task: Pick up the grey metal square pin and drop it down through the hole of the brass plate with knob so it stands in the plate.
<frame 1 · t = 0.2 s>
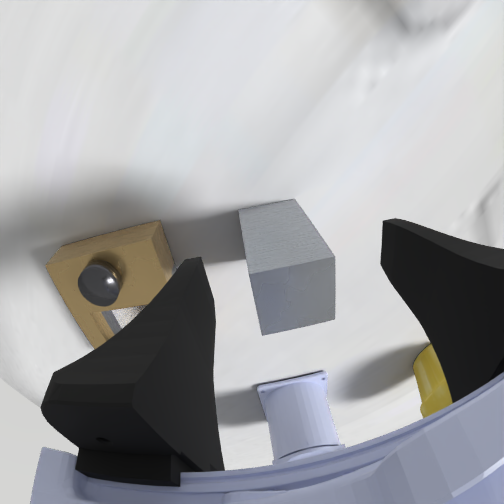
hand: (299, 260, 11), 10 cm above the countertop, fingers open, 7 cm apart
plant pot: (431, 353, 32), on the countertop
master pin: (270, 229, 21), on the countertop
brass plate with knob: (140, 310, 23), on the countertop
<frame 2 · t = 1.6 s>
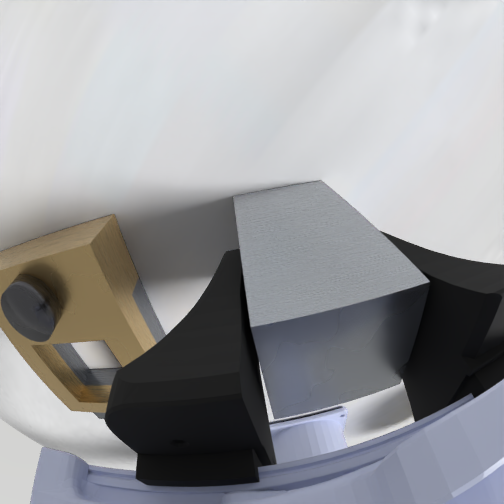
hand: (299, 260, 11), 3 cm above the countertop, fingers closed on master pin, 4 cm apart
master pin: (284, 228, 13), on the countertop, touching gripper
brass plate with knob: (101, 340, 16), on the countertop
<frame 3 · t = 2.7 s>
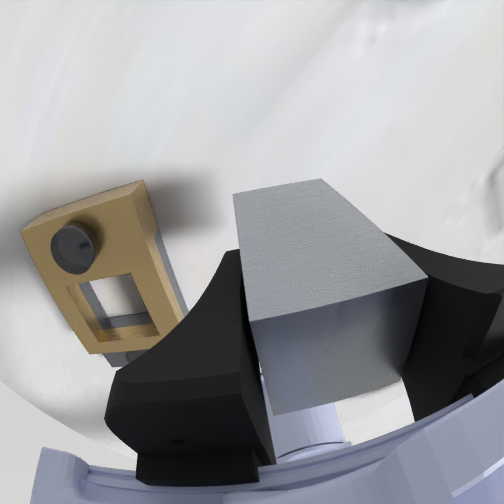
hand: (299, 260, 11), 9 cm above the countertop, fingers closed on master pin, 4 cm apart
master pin: (283, 226, 13), point 6 cm above the countertop, touching gripper
brass plate with knob: (122, 287, 21), on the countertop
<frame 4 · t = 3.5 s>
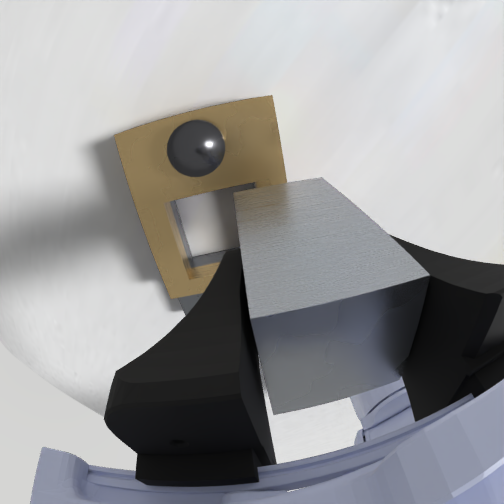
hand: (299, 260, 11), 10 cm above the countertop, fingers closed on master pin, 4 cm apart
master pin: (283, 225, 13), point 7 cm above the countertop, touching gripper
brass plate with knob: (219, 216, 20), on the countertop
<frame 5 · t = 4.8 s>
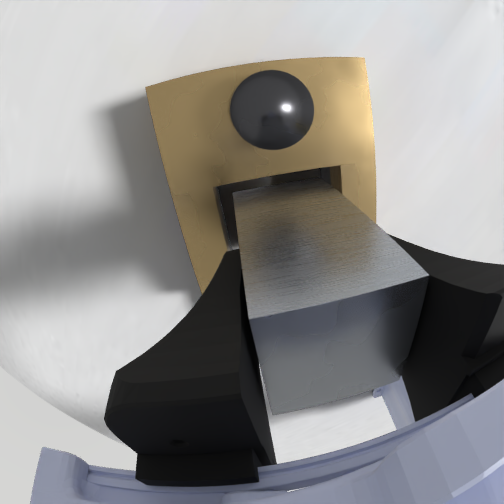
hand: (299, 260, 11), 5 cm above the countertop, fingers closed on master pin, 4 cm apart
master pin: (283, 225, 13), point 2 cm above the countertop, touching gripper
brass plate with knob: (275, 210, 16), on the countertop
when the fingers open (4 cm above the countertop, at t = 5.6 s): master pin stays where it is, resting in brass plate with knob.
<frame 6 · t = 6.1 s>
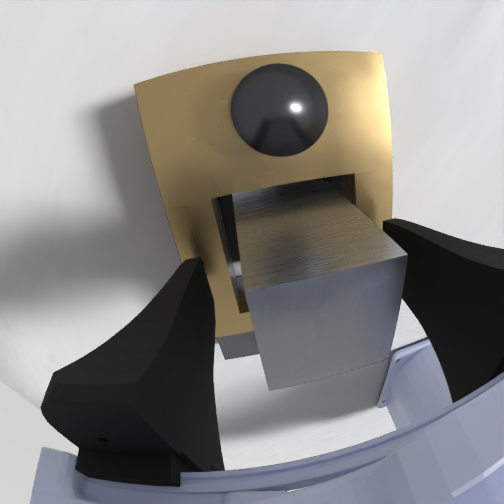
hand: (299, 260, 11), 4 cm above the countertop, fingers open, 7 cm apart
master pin: (279, 217, 14), resting in brass plate with knob
brass plate with knob: (280, 220, 14), on the countertop
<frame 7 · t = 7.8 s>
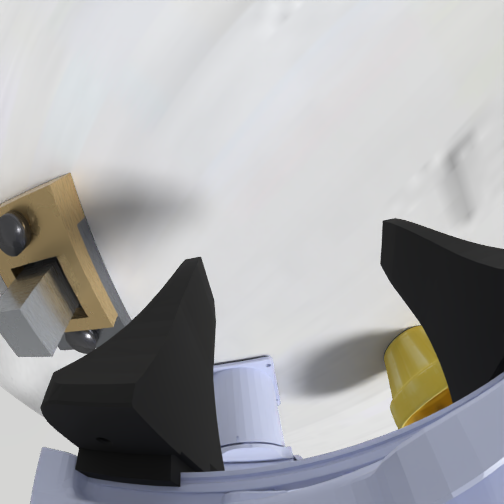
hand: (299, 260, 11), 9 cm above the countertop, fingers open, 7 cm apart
plant pot: (406, 344, 30), on the countertop
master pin: (61, 271, 20), resting in brass plate with knob
brass plate with knob: (62, 272, 20), on the countertop
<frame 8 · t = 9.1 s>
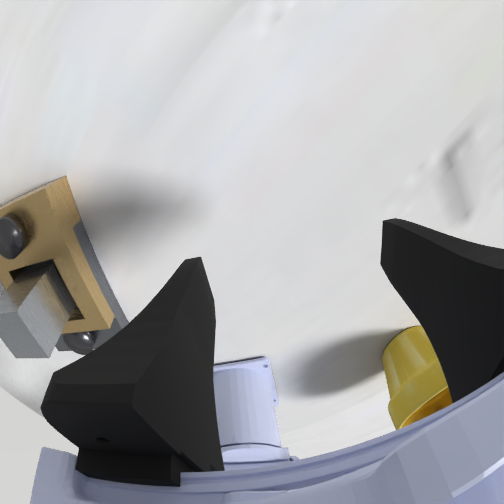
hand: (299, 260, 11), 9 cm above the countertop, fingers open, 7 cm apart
plant pot: (404, 344, 30), on the countertop
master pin: (58, 273, 20), resting in brass plate with knob
brass plate with knob: (59, 274, 20), on the countertop
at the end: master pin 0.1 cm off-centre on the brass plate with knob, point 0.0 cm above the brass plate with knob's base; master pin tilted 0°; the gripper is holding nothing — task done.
